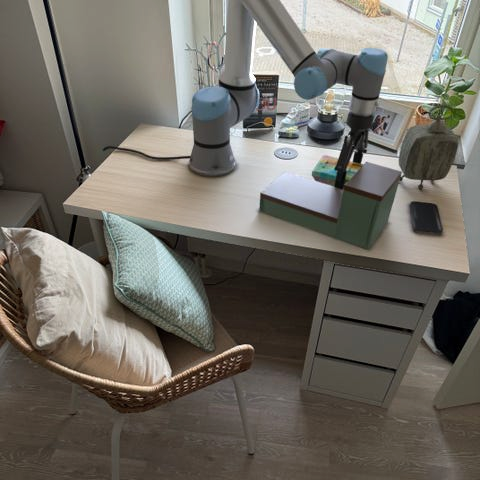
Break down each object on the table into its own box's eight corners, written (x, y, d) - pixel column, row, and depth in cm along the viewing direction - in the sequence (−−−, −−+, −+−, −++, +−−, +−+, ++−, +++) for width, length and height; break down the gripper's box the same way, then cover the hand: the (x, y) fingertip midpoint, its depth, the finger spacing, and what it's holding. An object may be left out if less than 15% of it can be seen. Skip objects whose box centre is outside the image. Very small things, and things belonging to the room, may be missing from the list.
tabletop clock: (435, 178, 152) (463, 99, 134) (444, 193, 146) (475, 112, 128) (392, 178, 152) (414, 99, 134) (399, 193, 146) (423, 111, 128)
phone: (436, 203, 139) (443, 231, 129) (435, 206, 140) (441, 235, 130) (409, 200, 140) (414, 228, 130) (408, 203, 141) (412, 231, 131)
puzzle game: (323, 152, 150) (385, 166, 145) (321, 166, 154) (381, 180, 148) (312, 168, 143) (377, 184, 137) (310, 182, 146) (373, 198, 141)
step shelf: (259, 210, 137) (261, 159, 126) (283, 189, 146) (288, 139, 135) (368, 249, 125) (382, 196, 113) (387, 223, 134) (402, 171, 122)
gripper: (357, 130, 123) (342, 201, 138) (389, 101, 137) (371, 168, 153) (331, 122, 125) (319, 193, 141) (365, 95, 140) (350, 161, 156)
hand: (346, 180), depth 147 cm, fingers closed on puzzle game, 12 cm apart
